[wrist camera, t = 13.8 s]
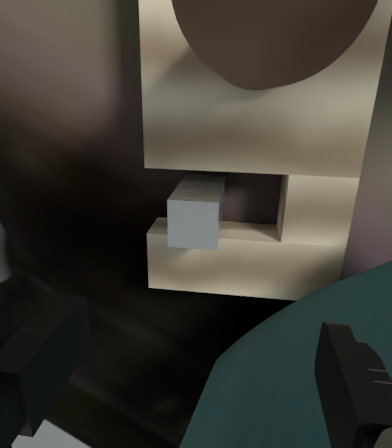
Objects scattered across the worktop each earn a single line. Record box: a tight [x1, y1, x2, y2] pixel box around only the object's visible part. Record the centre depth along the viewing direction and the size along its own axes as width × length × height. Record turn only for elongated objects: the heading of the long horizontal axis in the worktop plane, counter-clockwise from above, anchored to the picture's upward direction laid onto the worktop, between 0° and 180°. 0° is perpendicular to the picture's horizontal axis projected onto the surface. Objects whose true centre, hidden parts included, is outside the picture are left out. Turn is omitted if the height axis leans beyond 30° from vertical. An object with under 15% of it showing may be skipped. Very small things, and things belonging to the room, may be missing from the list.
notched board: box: [139, 0, 392, 301], centre depth 26 cm, size 28×16×4 cm, turn 179°
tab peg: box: [167, 174, 225, 251], centre depth 27 cm, size 4×4×8 cm
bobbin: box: [171, 0, 378, 91], centre depth 17 cm, size 7×7×12 cm
